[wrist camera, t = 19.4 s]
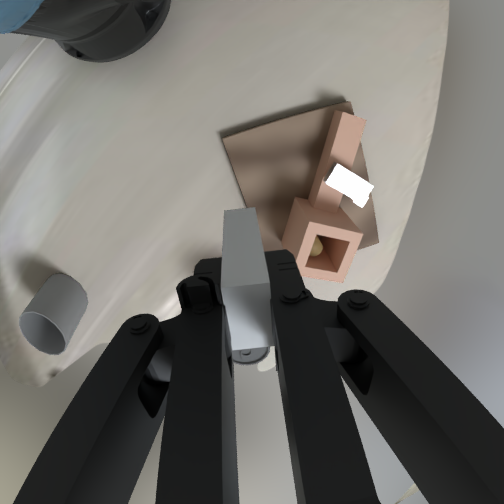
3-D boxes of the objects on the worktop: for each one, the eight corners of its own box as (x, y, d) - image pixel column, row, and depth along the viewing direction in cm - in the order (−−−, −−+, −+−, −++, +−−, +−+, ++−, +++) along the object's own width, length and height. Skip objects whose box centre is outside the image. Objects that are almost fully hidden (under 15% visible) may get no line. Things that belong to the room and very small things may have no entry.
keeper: (344, 190, 41) (362, 207, 35) (310, 170, 39) (324, 185, 33) (354, 172, 40) (375, 187, 34) (321, 152, 38) (337, 163, 32)
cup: (96, 308, 47) (76, 350, 39) (64, 319, 48) (42, 358, 39) (69, 266, 44) (41, 305, 35) (37, 281, 44) (10, 318, 36)
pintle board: (222, 137, 37) (220, 147, 30) (346, 101, 35) (370, 104, 28) (271, 272, 46) (278, 303, 39) (375, 238, 44) (396, 263, 38)
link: (325, 250, 43) (342, 283, 36) (281, 241, 42) (291, 274, 35) (368, 122, 35) (399, 131, 28) (321, 105, 34) (344, 109, 27)
